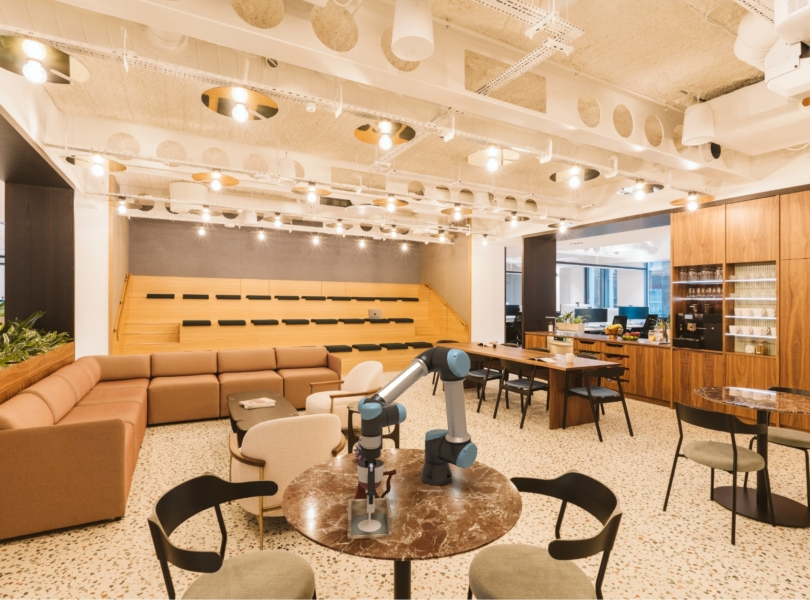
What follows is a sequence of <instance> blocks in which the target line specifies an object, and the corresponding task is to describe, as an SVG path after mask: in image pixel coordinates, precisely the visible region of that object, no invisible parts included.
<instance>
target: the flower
mask: <svg viewBox="0 0 810 600" xmlns="http://www.w3.org/2000/svg"><path fill="white" fill-rule="evenodd" d="M357 442H358V443H357V444H358V445H356V444H355V445H354V447H356V448H354V449H353V452H354V454H355V455H354V458H358V460H357V461H358V462H359V461H361V460H364V458H362V457H361V446H362V445H361V440H358V441H357Z"/></svg>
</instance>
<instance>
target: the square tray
mask: <svg viewBox="0 0 810 600" xmlns="http://www.w3.org/2000/svg"><path fill="white" fill-rule="evenodd" d="M353 499H354V498H353ZM353 499H348V500H347V540H351V539H353V540H354V539H355V540H356V539H368V538H369V539H372V538H389V537H390V538H391V537H393V519H394V518H393V513H392V507H391V502H390V498H389V497H384V498H381V497H380V498H376V499H375V510H374V513H371V520H376V521H378V522H380V523H381V527H380V528H379V529H378V530H376V531H373V532H365V531H362V530H360V529H359V528H358V524H359V523H360V522H361V521H364V520H368V516H369V513H367V499H354V500H353Z"/></svg>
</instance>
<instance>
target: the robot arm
mask: <svg viewBox="0 0 810 600" xmlns="http://www.w3.org/2000/svg"><path fill="white" fill-rule="evenodd" d="M470 369H471V359H470V356H469V355H468V353H466V352H465V351H464V350H461V349H458V348H449V347H442V346H441V347H440V346H434V347H430V348H429V349H426V350H424V351H422V352H421V353H420V354H418V355H417V356H415V357H414V358H413V359H412V360H411V363H410V364H409V365H408V366H407V367H406V368H404V369H403V370H402V371H401V372H400V373H398V374H397V375H396V376H394V377H393V378H392V379H391V380H390V381H389V382H388V383H386V384H385V385H384V386H383V387H382V388H380V389H379V390H378V391H376V393H374V394H373V395H371V396H370V397H362V398H361V399H360V400H359V401H358V403H357V412H358V414H360V436H359V438H358V440H359V441H360V442H361V445H362V446H361V457H362V458H364V459H367V460H365V468H368V478H367V482H368V490H366V495H367V513H374V510H375V468H376V460H374V459H379V458H380V457H381V456H382V455H381V454H382V453H381V452H382V451H381V450H382V447H381V444H382V429H383V428H387V427H391V426H394V425H399V424H401V423H403V422H405V421H406V420H407V419H406V418H407V416H408V415H407V408H406V407H405V405H403V404H402V403H394V404H392V403H393V402H394V401H396V400H397V399H398V398H400V396H402V395H403V394H404V393H405V392H406V391H407V390H408V389H409V388H411V387H412V386H413V385H414V384H416V382H417V381H419V380H420V379H422V377H426V376H428V375H429V374H432V373H437V374H438V373H439V380H440V381H441V382H442V383H443V386H444V387H443V390H444V398H445V399H444V400H445V410H446V411H445V412H446V422H447V429H443V428H437V429H429V430H428V431H426V433H425V437H424V463H423V466H422V469H421V472H420V480H421V481H422V482H423V483H425V484H427V485H431V486H445V485H449V484H450V483H452V481H453V473H452V469H451V466H450V464H451V465H454V466H456V467H457V468H461V469H469V468H470V467H471V466H472V465H473V464H474V463H475V461H476V459H477V457H478V445H476V444H475V443H474V442H472V435H471V434H470V433H469V432H468V427H467V417H466V416H467V414H466V413H467V412H466V403H465V401H466V400H465V393H464V392H465V391H464V390H465V388H464V381H465V380H466V379H467V375H469V373H470Z"/></svg>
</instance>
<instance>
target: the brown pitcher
mask: <svg viewBox="0 0 810 600" xmlns="http://www.w3.org/2000/svg"><path fill="white" fill-rule="evenodd" d="M393 475H394V476H395V475H397V469H395V468H394V469H392V470H389V471H387V470H386V471H383V477H384V476H387V479H386V482H385V487H386V488H385V491H383V492H382V494H381V496H379V494H378V493H377V490H376V489H377V488H376V489H375V499H376V498H385V497H386V495H388V494H389V493H390V492H391V489H392V488H391V487H392V486H391V480H392V477H393ZM357 481H358V483H357V488H356V489H357V490H356V493H355V497H354V498H353V499H352V500H354V499H367V495H366V489H364V488H362V487H361V486H360V484H359V479H358V478H357Z"/></svg>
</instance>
